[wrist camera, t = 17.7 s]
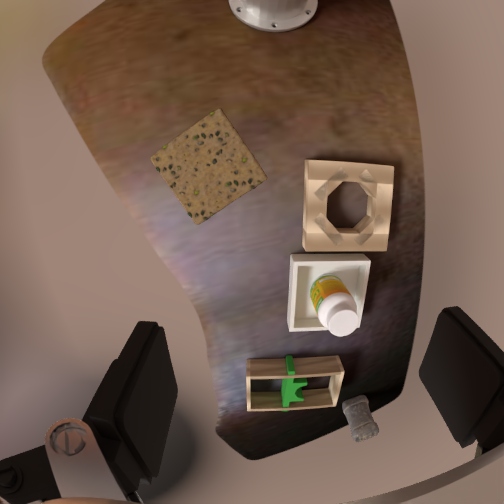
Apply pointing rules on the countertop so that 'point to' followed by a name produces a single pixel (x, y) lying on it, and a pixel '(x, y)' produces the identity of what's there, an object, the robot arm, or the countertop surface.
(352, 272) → the tray
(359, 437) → the stone
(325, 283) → the supplement bottle
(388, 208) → the plate
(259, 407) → the parts corral
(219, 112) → the speckled tile
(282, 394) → the pipe clamp
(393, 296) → the countertop surface
